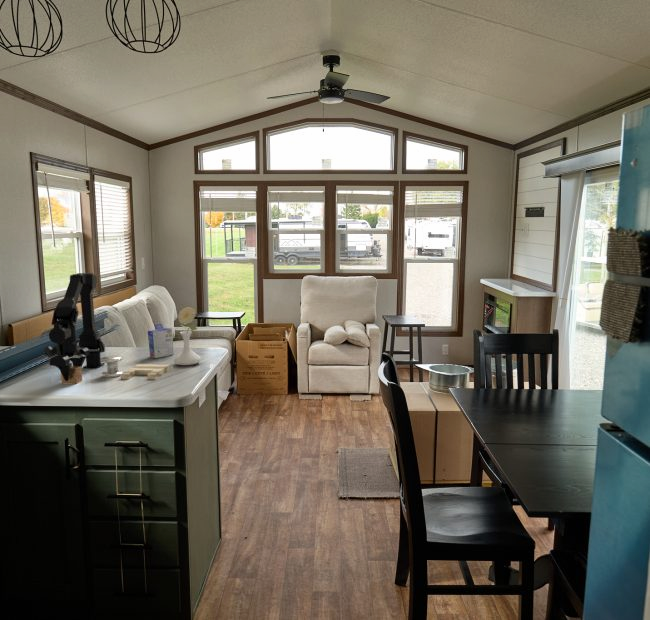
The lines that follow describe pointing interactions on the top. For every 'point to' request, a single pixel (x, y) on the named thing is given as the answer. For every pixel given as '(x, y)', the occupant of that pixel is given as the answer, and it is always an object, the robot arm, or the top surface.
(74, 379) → the wooden block
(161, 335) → the ink cartridge box
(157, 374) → the notched board
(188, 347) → the flower in vase
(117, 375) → the bobbin
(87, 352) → the robot arm
